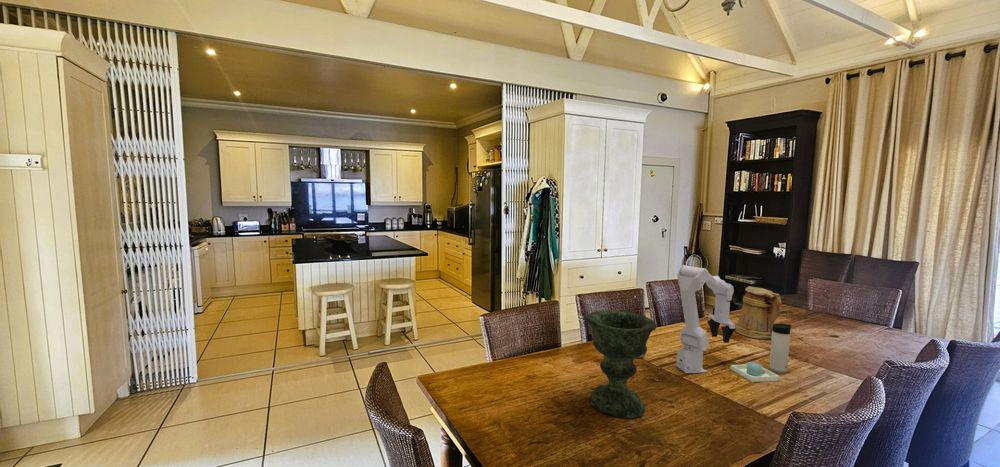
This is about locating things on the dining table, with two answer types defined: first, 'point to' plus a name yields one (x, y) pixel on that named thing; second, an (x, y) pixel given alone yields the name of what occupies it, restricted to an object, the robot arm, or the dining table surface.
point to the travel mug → (780, 348)
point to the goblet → (619, 359)
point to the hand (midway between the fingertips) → (720, 339)
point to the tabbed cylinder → (754, 369)
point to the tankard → (758, 313)
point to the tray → (764, 378)
